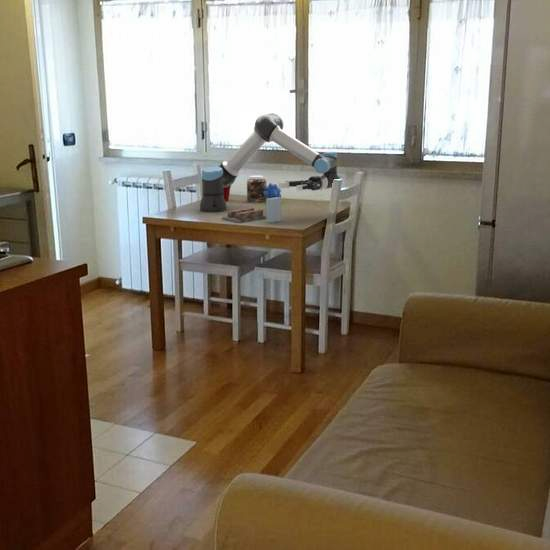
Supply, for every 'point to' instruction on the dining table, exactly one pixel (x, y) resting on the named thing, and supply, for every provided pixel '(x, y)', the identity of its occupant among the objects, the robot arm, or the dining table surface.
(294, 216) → the dining table surface
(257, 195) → the jar
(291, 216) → the dining table surface
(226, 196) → the plastic cup
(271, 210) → the pale grey panel
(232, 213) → the slot rack
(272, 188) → the blue gear
